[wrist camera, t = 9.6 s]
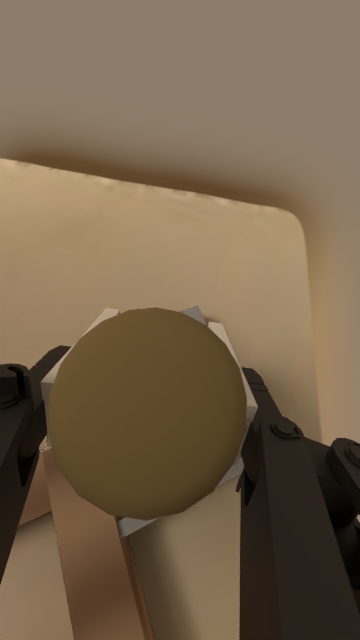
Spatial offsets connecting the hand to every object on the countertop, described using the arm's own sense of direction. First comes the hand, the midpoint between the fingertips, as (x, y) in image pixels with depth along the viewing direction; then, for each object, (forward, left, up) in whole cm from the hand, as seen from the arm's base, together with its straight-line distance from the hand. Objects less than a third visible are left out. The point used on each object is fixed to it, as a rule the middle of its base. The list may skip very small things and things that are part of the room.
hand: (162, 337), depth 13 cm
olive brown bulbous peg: (+3, -2, -3) cm, 5 cm away
